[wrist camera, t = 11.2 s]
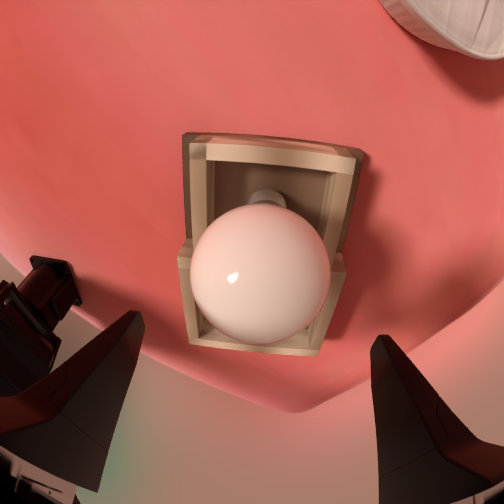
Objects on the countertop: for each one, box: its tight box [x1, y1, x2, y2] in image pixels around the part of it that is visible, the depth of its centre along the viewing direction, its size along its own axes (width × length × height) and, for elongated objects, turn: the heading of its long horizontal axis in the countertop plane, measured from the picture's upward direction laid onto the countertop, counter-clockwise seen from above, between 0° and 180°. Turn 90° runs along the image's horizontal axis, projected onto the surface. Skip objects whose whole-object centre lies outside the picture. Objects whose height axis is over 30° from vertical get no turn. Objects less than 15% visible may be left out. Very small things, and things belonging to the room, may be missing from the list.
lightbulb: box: [190, 189, 331, 344], centre depth 15 cm, size 6×6×11 cm
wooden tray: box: [177, 133, 364, 356], centre depth 21 cm, size 12×18×4 cm, turn 177°
